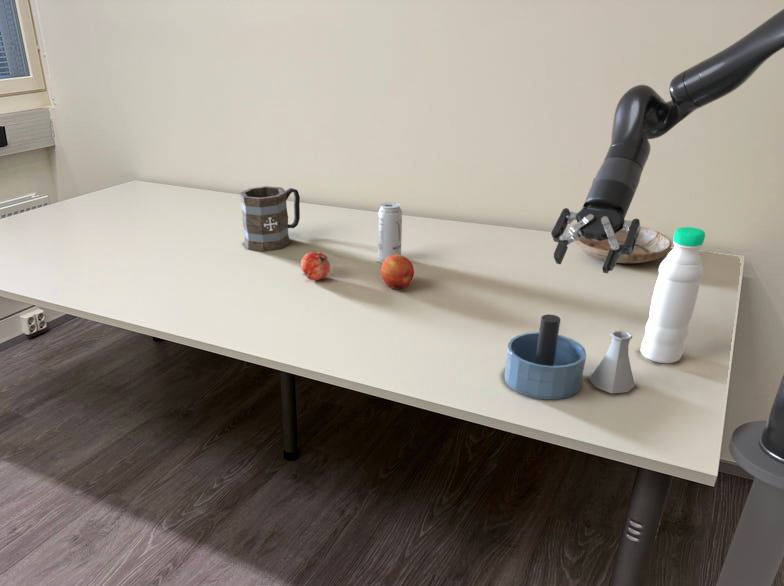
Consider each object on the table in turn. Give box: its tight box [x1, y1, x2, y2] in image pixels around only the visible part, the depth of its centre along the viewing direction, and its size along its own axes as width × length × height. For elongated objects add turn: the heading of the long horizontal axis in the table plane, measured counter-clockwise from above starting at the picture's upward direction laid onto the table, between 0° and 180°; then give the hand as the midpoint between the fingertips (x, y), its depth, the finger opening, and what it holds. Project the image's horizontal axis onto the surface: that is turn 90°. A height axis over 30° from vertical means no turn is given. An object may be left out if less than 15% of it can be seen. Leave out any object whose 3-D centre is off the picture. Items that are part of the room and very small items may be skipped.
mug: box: [239, 185, 301, 252], centre depth 194 cm, size 20×14×15 cm
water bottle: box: [640, 226, 706, 364], centre depth 122 cm, size 7×7×25 cm
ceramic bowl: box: [573, 226, 672, 264], centre depth 173 cm, size 23×24×5 cm
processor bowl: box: [503, 331, 587, 400], centre depth 120 cm, size 13×13×6 cm
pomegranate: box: [300, 250, 331, 281], centre depth 168 cm, size 7×7×10 cm
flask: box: [588, 330, 636, 394], centre depth 117 cm, size 7×7×10 cm
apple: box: [379, 254, 415, 290], centre depth 161 cm, size 8×8×8 cm
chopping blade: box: [535, 313, 561, 366], centre depth 119 cm, size 8×8×12 cm
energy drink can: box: [377, 202, 403, 263], centre depth 175 cm, size 6×6×15 cm
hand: (580, 266), depth 121 cm, fingers open, 8 cm apart
